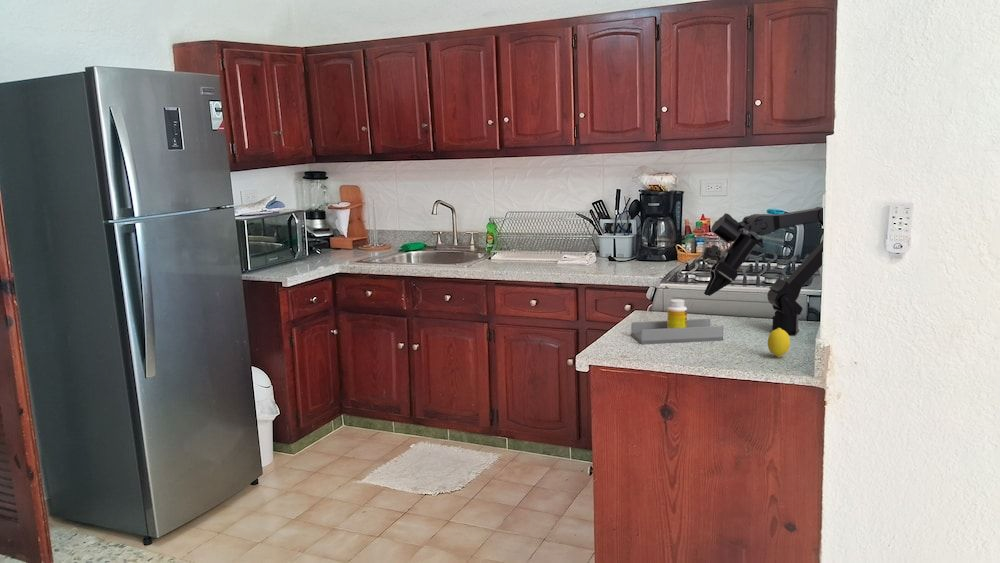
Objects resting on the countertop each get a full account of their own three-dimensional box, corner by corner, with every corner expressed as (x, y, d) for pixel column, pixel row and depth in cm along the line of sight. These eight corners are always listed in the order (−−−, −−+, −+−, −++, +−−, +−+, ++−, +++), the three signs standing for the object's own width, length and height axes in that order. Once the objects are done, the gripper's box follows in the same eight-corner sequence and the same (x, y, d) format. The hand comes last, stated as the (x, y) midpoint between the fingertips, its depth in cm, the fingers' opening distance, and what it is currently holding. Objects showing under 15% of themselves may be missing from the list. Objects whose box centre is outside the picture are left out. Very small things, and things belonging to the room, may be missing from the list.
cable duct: (708, 331, 238) (709, 318, 237) (723, 340, 226) (723, 326, 226) (631, 335, 235) (631, 322, 235) (641, 344, 224) (641, 330, 224)
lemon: (763, 355, 209) (764, 326, 208) (783, 354, 209) (784, 325, 208) (772, 360, 204) (773, 330, 202) (793, 359, 204) (794, 329, 203)
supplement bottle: (687, 336, 228) (688, 302, 226) (668, 336, 228) (668, 302, 227) (685, 332, 233) (686, 298, 231) (666, 332, 234) (667, 298, 232)
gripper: (712, 237, 240) (682, 278, 241) (718, 233, 221) (685, 278, 223) (743, 258, 238) (712, 300, 240) (752, 256, 220) (718, 301, 221)
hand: (706, 294), depth 231 cm, fingers open, 9 cm apart
